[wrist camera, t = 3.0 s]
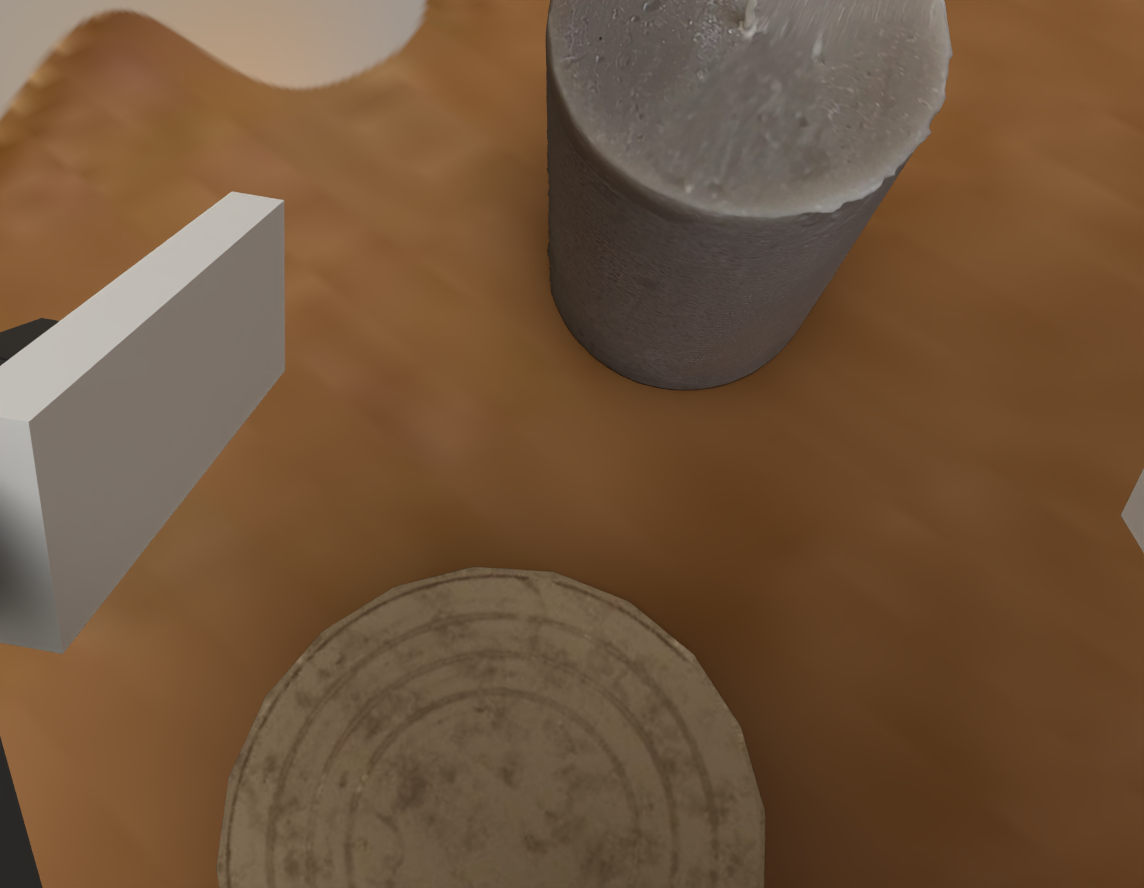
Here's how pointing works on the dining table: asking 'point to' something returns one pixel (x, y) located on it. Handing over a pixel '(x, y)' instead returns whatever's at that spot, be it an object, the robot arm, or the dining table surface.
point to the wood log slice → (494, 750)
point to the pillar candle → (722, 166)
